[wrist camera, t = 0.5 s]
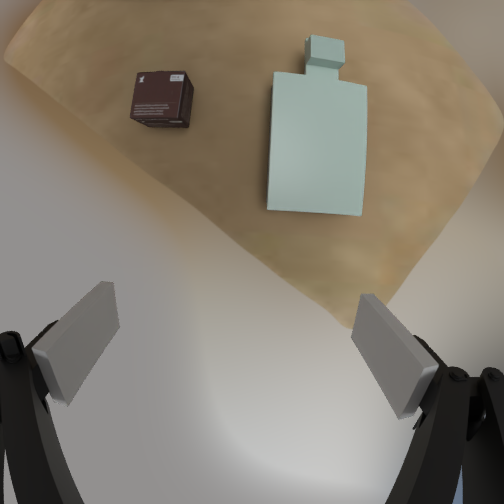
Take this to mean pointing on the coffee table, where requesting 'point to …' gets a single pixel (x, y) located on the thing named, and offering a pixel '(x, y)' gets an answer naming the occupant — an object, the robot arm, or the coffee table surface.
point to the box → (162, 99)
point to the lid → (318, 136)
